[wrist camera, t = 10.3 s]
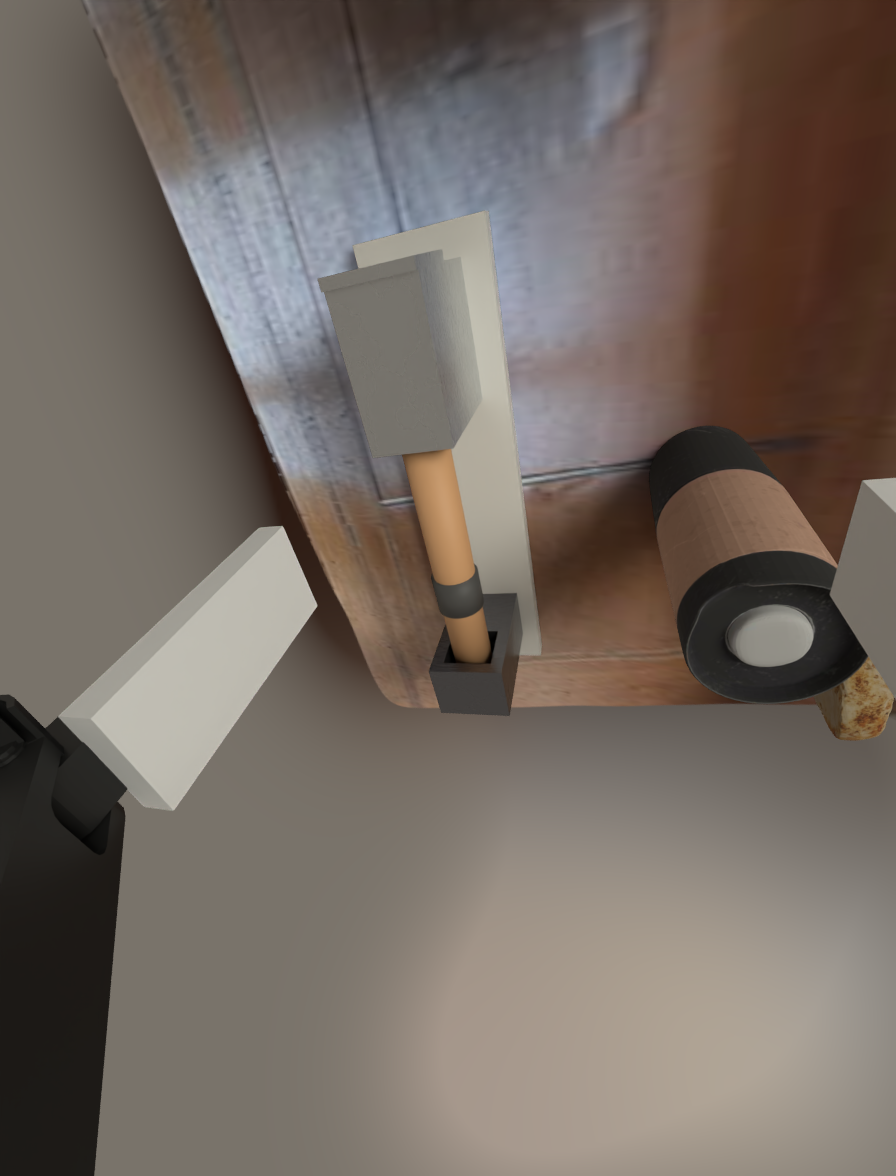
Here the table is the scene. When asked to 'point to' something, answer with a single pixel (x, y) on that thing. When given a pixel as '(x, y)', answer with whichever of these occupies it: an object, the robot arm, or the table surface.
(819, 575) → the travel mug
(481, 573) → the baseboard
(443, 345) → the light grey block
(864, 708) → the stone disc
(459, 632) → the orange tube
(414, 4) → the table surface
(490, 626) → the charcoal socket
